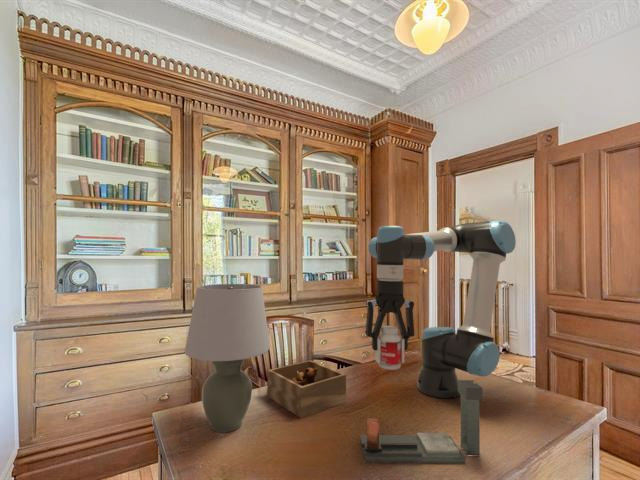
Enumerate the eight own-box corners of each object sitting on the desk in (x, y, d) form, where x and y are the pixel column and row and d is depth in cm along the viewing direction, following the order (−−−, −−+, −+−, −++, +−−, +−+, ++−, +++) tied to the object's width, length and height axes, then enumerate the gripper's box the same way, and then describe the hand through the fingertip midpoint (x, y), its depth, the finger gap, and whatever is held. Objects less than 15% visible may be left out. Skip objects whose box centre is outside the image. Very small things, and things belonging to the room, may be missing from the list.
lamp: (282, 431, 94) (285, 288, 96) (194, 459, 80) (199, 292, 82) (248, 400, 113) (252, 282, 115) (173, 418, 100) (178, 284, 102)
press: (363, 463, 80) (364, 390, 81) (358, 440, 90) (359, 376, 90) (488, 464, 80) (487, 392, 81) (469, 441, 90) (469, 377, 91)
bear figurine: (315, 389, 124) (316, 356, 124) (327, 407, 109) (328, 369, 110) (279, 393, 120) (280, 358, 121) (286, 412, 106) (287, 373, 106)
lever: (365, 453, 81) (365, 423, 81) (363, 446, 84) (364, 417, 84) (382, 453, 81) (382, 424, 81) (379, 446, 84) (379, 418, 84)
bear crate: (267, 396, 117) (267, 370, 117) (309, 383, 129) (310, 360, 129) (300, 418, 101) (301, 388, 102) (345, 401, 113) (346, 374, 114)
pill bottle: (374, 367, 94) (375, 327, 94) (384, 361, 99) (384, 324, 99) (395, 371, 90) (395, 330, 91) (404, 366, 95) (404, 326, 96)
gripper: (359, 280, 91) (359, 366, 90) (427, 281, 93) (427, 365, 92) (354, 278, 99) (353, 357, 98) (417, 279, 100) (417, 357, 99)
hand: (389, 361), depth 95 cm, fingers closed on pill bottle, 6 cm apart
